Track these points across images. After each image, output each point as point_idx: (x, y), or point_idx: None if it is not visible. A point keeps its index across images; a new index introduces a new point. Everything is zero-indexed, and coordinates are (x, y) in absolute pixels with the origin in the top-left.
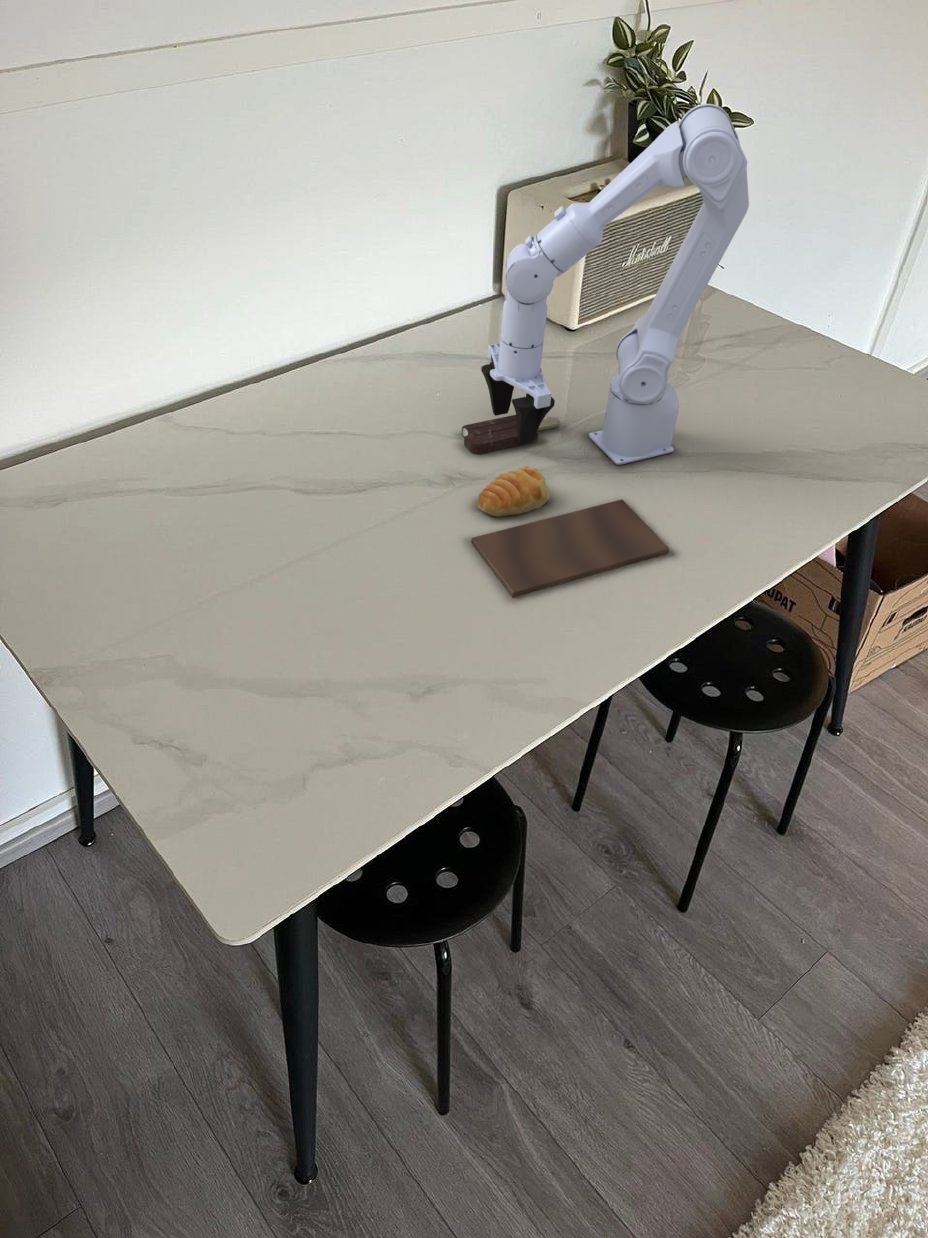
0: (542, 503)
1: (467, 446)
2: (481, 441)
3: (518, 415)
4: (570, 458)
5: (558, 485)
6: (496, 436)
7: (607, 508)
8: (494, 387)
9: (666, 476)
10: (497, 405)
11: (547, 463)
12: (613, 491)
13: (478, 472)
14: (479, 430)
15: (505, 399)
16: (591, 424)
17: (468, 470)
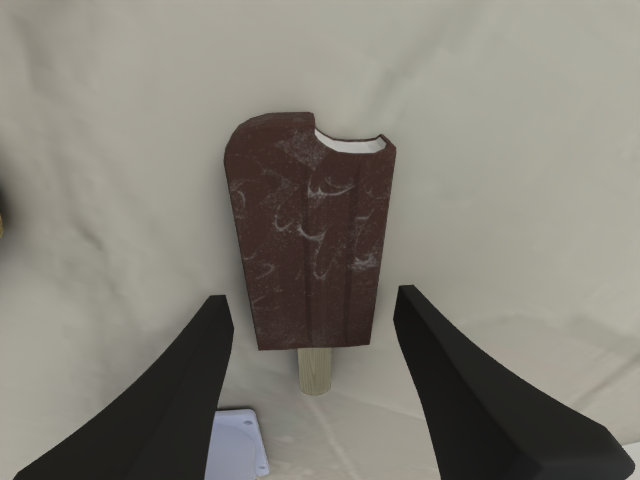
0: None
1: (274, 114)
2: (244, 177)
3: (129, 411)
4: None
5: (28, 303)
6: (268, 245)
7: None
8: (455, 386)
9: None
10: (411, 320)
11: (151, 314)
12: (18, 387)
13: (95, 83)
14: (335, 203)
15: (413, 357)
16: (297, 419)
17: (112, 39)
